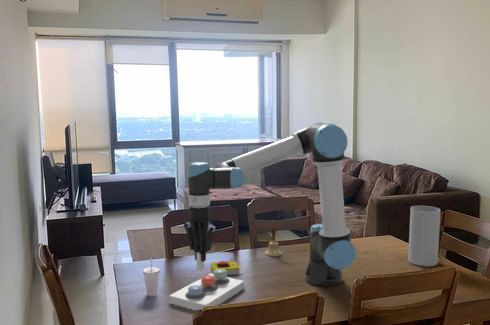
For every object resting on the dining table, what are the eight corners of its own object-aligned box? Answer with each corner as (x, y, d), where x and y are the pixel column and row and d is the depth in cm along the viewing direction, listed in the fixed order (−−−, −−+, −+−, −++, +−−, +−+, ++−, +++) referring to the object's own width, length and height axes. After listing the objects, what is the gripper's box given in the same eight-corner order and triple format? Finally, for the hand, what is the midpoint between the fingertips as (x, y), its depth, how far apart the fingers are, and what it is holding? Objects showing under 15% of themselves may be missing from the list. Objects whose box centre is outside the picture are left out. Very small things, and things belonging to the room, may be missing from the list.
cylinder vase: (402, 262, 216) (405, 208, 213) (416, 256, 225) (419, 204, 222) (429, 269, 207) (431, 213, 204) (442, 262, 215) (445, 209, 212)
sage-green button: (229, 275, 186) (229, 270, 185) (222, 280, 181) (221, 274, 181) (218, 273, 188) (218, 268, 188) (210, 277, 184) (210, 272, 183)
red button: (217, 282, 179) (217, 276, 178) (209, 287, 174) (209, 281, 174) (206, 279, 181) (206, 274, 181) (198, 284, 177) (198, 278, 177)
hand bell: (262, 252, 231) (262, 220, 229) (278, 250, 233) (278, 218, 231) (268, 257, 223) (268, 224, 221) (284, 255, 225) (285, 222, 223)
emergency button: (207, 259, 207) (240, 258, 210) (207, 269, 208) (240, 267, 210) (209, 267, 198) (244, 265, 201) (209, 277, 199) (244, 274, 201)
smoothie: (161, 290, 183) (160, 255, 181) (159, 297, 177) (158, 261, 175) (144, 291, 183) (144, 255, 181) (141, 297, 176) (140, 261, 175)
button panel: (244, 288, 185) (244, 280, 185) (205, 313, 163) (205, 304, 163) (210, 280, 194) (210, 272, 193) (169, 303, 171) (169, 294, 171)
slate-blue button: (205, 292, 172) (205, 287, 172) (196, 297, 168) (196, 291, 167) (194, 289, 175) (193, 284, 174) (185, 294, 170) (185, 288, 170)
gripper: (178, 205, 169) (180, 269, 172) (208, 209, 163) (209, 275, 166) (190, 202, 176) (192, 263, 179) (220, 205, 169) (221, 269, 172)
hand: (200, 269), depth 172 cm, fingers closed
